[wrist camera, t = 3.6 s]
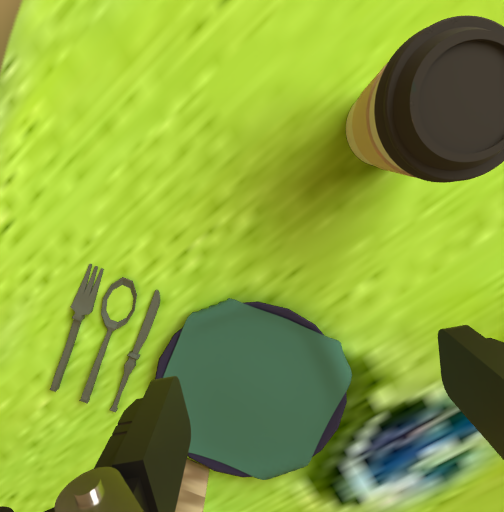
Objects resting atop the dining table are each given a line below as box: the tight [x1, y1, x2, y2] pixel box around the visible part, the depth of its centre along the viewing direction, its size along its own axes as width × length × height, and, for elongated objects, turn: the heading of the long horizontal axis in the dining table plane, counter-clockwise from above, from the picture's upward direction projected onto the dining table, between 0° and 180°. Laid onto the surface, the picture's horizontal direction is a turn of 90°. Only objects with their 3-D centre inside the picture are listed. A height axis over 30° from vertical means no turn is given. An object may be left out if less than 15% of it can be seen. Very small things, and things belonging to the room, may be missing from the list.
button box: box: [175, 459, 210, 512], centre depth 40 cm, size 6×6×7 cm
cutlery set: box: [50, 264, 352, 480], centre depth 40 cm, size 20×30×2 cm, turn 68°
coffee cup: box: [346, 16, 504, 182], centre depth 28 cm, size 9×9×15 cm
